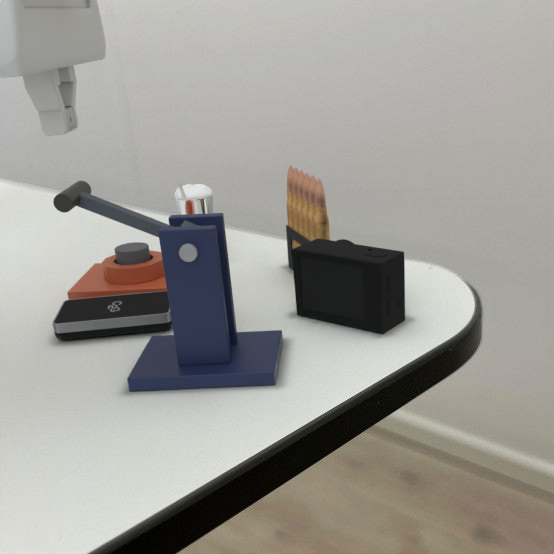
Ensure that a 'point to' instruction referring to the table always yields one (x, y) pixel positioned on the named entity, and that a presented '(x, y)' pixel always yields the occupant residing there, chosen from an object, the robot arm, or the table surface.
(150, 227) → the switch lever
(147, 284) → the button block
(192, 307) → the switch bracket
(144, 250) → the button
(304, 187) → the ammunition clip
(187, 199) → the milkshake
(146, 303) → the external hard drive
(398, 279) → the digital camera
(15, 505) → the table surface
